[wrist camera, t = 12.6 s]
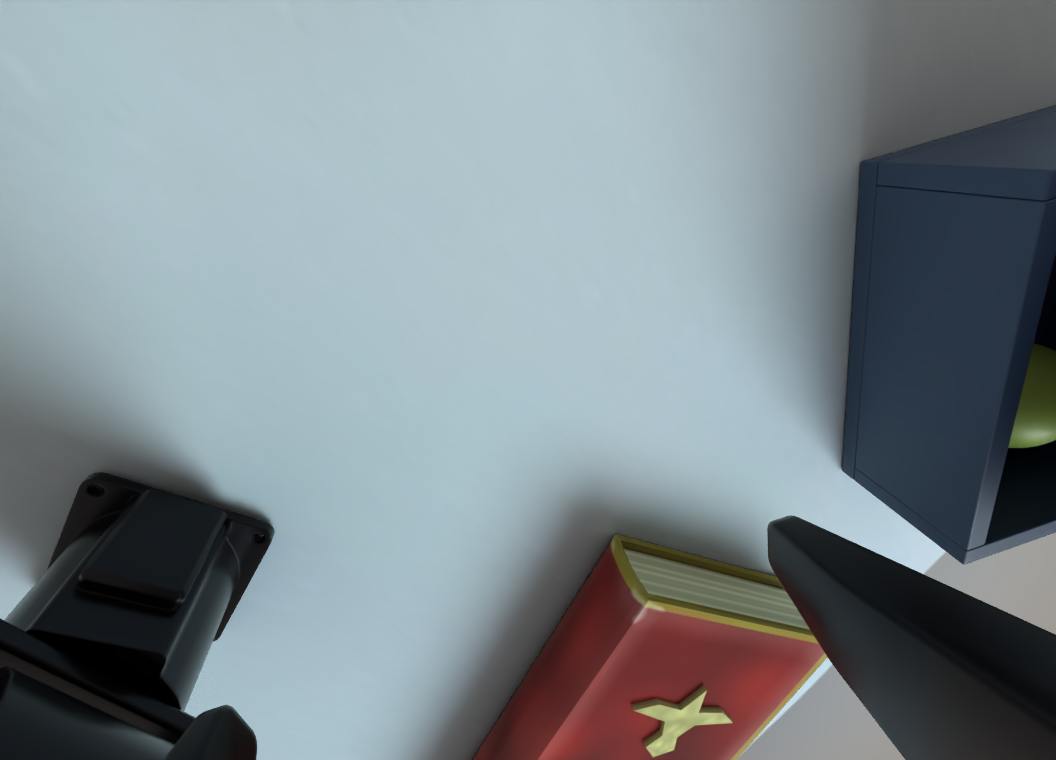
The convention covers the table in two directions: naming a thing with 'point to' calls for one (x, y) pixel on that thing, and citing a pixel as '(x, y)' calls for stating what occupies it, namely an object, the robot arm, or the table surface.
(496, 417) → the table surface
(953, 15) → the table surface
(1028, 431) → the apple
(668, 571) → the hardcover book
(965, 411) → the box
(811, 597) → the robot arm
